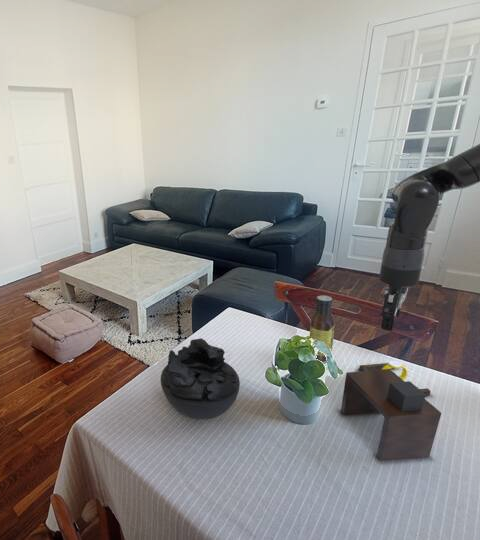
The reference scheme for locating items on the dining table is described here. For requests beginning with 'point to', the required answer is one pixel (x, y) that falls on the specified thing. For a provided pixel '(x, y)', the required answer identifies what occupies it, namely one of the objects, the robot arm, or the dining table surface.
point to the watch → (397, 366)
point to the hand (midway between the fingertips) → (390, 322)
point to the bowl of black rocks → (200, 381)
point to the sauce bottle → (323, 323)
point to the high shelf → (391, 415)
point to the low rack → (380, 367)
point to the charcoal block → (406, 396)
